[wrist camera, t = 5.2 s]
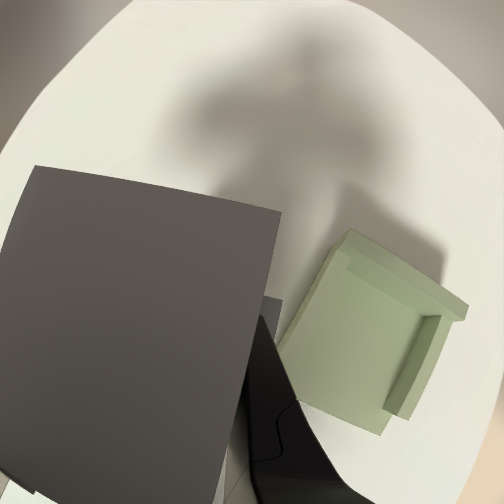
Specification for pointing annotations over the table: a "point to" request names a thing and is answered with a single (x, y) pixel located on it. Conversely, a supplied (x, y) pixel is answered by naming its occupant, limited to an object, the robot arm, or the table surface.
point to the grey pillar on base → (126, 336)
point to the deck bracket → (367, 334)
